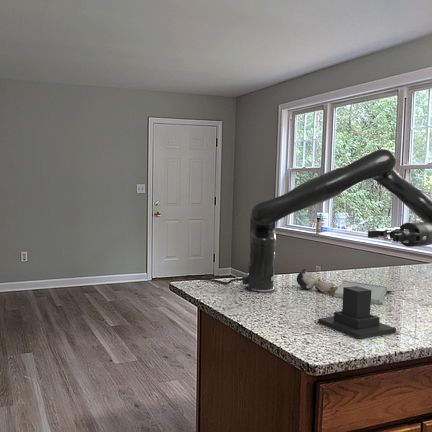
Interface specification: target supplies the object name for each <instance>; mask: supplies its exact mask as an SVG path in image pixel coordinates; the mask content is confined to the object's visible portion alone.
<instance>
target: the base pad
mask: <svg viewBox="0 0 432 432" xmlns="http://www.w3.org/2000/svg"><path fill="white" fill-rule="evenodd" d="M380 320H381V317H380V316H377V315H374V314H371V313H370V318H365V319H355V318H352V317H350V316H347V315H344V314H342V310H337V311H334V312H333V315H332V316H327V317H320V318H318V319H317V323H318V324H321V325H323V326H326V327H328V328H331V329H333V330H335V331H338V332H339V333H343V334H345V335H348V336H350V337H353V338H355V339H357V340H361V339H368V338H372V337H377V336H384V335H389V334H396V333H397V327H394V326H390V325H388V324H385V323H382V322H380Z"/></svg>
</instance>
